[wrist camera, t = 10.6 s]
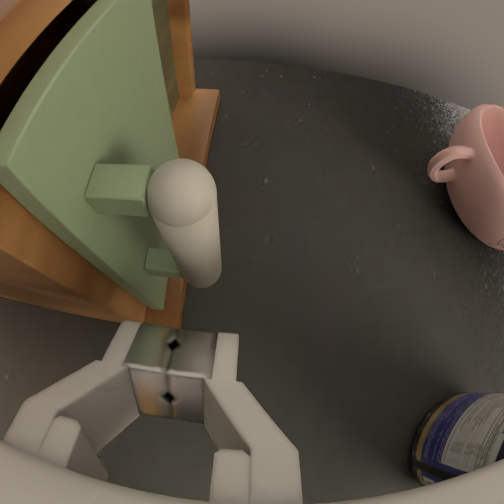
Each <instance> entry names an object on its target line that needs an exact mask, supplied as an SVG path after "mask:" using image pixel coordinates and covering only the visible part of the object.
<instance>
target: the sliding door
mask: <svg viewBox="0 0 504 504" xmlns="http://www.w3.org/2000/svg"><path fill="white" fill-rule="evenodd" d="M0 184H1V185H2V186H3V187H4V188H5V189H6V190H7V191H8V192H9V193H10V194H11V195H12V196H13V197H14V198H15V199H16V200H18V201H19V202H20V203H21V204H22V205H23V206H24V207H25V208H26V209H27V210H28V211H29V212H30V213H32V214H33V215H34V216H35V217H36V218H37V219H38V220H39V221H41V222H42V223H43V224H44V225H45V226H46V227H47V228H49V229H50V230H51V231H52V232H53V233H54V234H55V235H57V236H58V237H59V238H60V239H61V240H63V241H64V242H65V243H66V244H67V245H69V246H70V247H71V248H72V249H73V250H75V251H76V252H77V253H78V254H79V255H81V256H82V257H83V258H84V259H86V260H87V261H88V262H89V263H91V264H92V265H93V266H94V267H96V268H97V269H98V270H100V271H101V272H102V273H103V274H105V275H106V276H107V277H109V278H110V279H111V280H113V281H114V282H115V283H117V284H118V285H119V286H121V287H122V288H123V289H125V290H126V291H127V292H129V293H130V294H131V295H133V296H134V297H136V298H137V299H138V300H140V301H141V302H143V303H144V304H145V305H147V306H148V307H150V308H151V309H155V310H163V309H164V302H165V295H166V288H167V281H168V277H169V278H178V279H183V278H184V279H185V281H186V282H187V283H189V284H190V285H191V286H194V287H197V288H206V287H209V286H211V285H213V284H214V283H215V282H216V281H217V280H218V279H219V277H220V274H221V270H222V263H221V250H220V236H219V222H218V208H217V192H216V186H215V182H214V179H213V177H212V175H211V174H210V173H209V171H208V170H207V169H206V168H205V167H204V166H203V165H201V164H199V163H198V162H196V161H193V160H190V159H184V158H183V159H179V154H178V150H177V145H176V140H175V135H174V130H173V125H172V120H171V115H170V110H169V104H168V99H167V94H166V88H165V83H164V77H163V72H162V66H161V60H160V54H159V48H158V42H157V36H156V29H155V23H154V16H153V9H152V2H151V0H97V1H96V2H95V3H94V4H93V5H92V7H91V8H90V9H89V10H88V11H87V12H86V13H85V14H84V15H83V16H82V17H81V18H80V19H79V20H78V22H77V23H76V24H75V25H74V26H73V27H72V28H71V30H70V31H69V32H68V33H67V34H66V35H65V37H64V38H63V39H62V40H61V41H60V43H59V44H58V45H57V46H56V48H55V49H54V50H53V51H52V53H51V54H50V55H49V57H48V58H47V59H46V61H45V62H44V63H43V65H42V66H41V67H40V69H39V70H38V72H37V73H36V74H35V76H34V77H33V79H32V80H31V82H30V83H29V85H28V86H27V88H26V89H25V91H24V92H23V94H22V95H21V97H20V99H19V100H18V102H17V103H16V105H15V107H14V108H13V110H12V112H11V113H10V115H9V117H8V119H7V120H6V122H5V124H4V126H3V127H2V129H1V131H0Z"/></svg>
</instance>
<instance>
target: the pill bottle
mask: <svg viewBox="0 0 504 504" xmlns="http://www.w3.org/2000/svg"><path fill="white" fill-rule="evenodd" d="M502 459H504V393H460V394H455V395H453V396H450V397H448V398H446V399H444V400H442V401H441V402H439V403H438V404H437V405H436V406H435V407H434V408H433V409H432V410H431V411H430V412H429V413H428V414H427V416H426V417H425V418H424V420H423V421H422V423H421V425H420V427H419V428H418V431H417V433H416V435H415V438H414V442H413V446H412V458H411V461H412V470H413V472H414V475H415V477H416V479H417V480H418V481H419V483H420V484H422V485H423V486H426V485H430V484H434V483H437V482H441V481H444V480H447V479H451V478H454V477H457V476H460V475H463V474H466V473H469V472H471V471H474V470H477V469H480V468H482V467H485V466H487V465H490V464H492V463H495V462H497V461H499V460H502Z"/></svg>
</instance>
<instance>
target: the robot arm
mask: <svg viewBox="0 0 504 504" xmlns="http://www.w3.org/2000/svg"><path fill="white" fill-rule="evenodd" d="M238 344H239V335H238V334H234V333H222V332H219V333H217V332H207V331H198V330H189V329H180V328H174V327H168V326H161V325H155V324H149V323H144V322H143V323H141V322H136V321H130V320H124V321H123V322H121V324H120V326H119V328H118V330H117V331H116V333H115V335H114V337H113V339H112V341H111V343H110V345H109V347H108V349H107V351H106V353H105V355H104V357H103V358H102V360H101V361H99V360H95V361H93V362H92V363H90V364H88V365H86V366H85V367H83V368H81V369H79V370H77V371H76V372H74V373H72V374H70V375H69V376H67V377H65V378H63V379H62V380H60V381H58V382H56V383H54V384H53V385H51V386H49V387H47V388H46V389H44V390H42V391H40V392H38V393H37V394H35V395H33V396H31V397H29V398H28V399H26V400H24V402H23V404H22V406H21V407H20V409H19V411H18V413H17V414H16V416H15V418H14V420H13V422H12V424H11V425H10V427H9V429H8V431H7V433H6V435H5V437H4V439H3V440H1V439H0V504H303V499H302V487H301V475H300V464H299V453H298V450H297V449H296V448H295V446H294V445H293V444H292V443H291V442H290V441H289V439H288V438H287V437H286V436H285V435H284V433H283V432H282V431H281V430H280V429H279V427H278V426H277V425H276V424H275V423H274V421H273V420H272V419H271V418H270V416H269V415H268V414H267V413H266V412H265V410H264V409H263V408H262V407H261V405H260V404H259V403H258V402H257V400H256V399H255V398H254V396H253V395H252V394H251V393H250V391H249V390H248V389H247V387H246V386H245V385H244V384H243V382H237V381H236V376H237V360H238ZM139 414H144V415H150V416H156V417H163V418H170V419H176V420H182V421H188V422H194V423H201V424H204V426H205V428H206V430H207V431H208V433H209V435H210V437H211V439H212V441H213V443H214V444H215V446H216V448H217V450H218V451H217V452H216V453H214V461H213V470H212V478H211V487H210V496H209V501H200V500H192V499H185V498H179V497H172V496H167V495H161V494H156V493H151V492H146V491H142V490H137V489H133V488H129V487H125V486H121V485H117V484H113V483H110V482H107V478H108V472H107V471H106V469H105V468H104V466H103V464H102V463H101V461H100V459H99V458H98V456H97V453H98V452H99V451H100V450H101V449H102V448H104V447H105V446H106V445H107V444H108V443H109V442H110V441H112V440H113V439H114V438H115V437H116V436H117V435H118V434H119V433H121V432H122V431H123V430H124V429H125V428H126V427H127V426H128V425H130V424H131V423H132V422H133V421H134V420H135V419H136V418H137V417H138V416H139ZM317 504H504V459H502V460H499V461H497V462H495V463H492V464H490V465H487V466H485V467H482V468H480V469H477V470H474V471H471V472H469V473H466V474H463V475H460V476H457V477H454V478H451V479H447V480H444V481H441V482H437V483H434V484H430V485H426V486H423V487H419V488H415V489H410V490H406V491H401V492H397V493H392V494H387V495H381V496H376V497H370V498H363V499H356V500H348V501H340V502H330V503H317Z"/></svg>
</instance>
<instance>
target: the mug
mask: <svg viewBox="0 0 504 504" xmlns="http://www.w3.org/2000/svg"><path fill="white" fill-rule="evenodd" d="M444 165H445V170H441V171H439V170H440V168H441V167H442V166H444ZM427 174H428V176H429V177H430V178H431V179H432V181H434V182H439V183H442V182H446V186H447V191H448V194H449V197H450V200H451V203H452V205H453V207H454V209H455V211H456V213H457V214H458V216H459V217H460V219H461V221H462V222H463V224H464V225H465V226H466V227H467V228H468V230H469V231H470V232H471V233H472V234H473V235H474V236H475V237H476V238H477V239H479V240H480V241H482V242H483V243H485V244H486V245H488V246H490V247H492V248H495V249H498V250H501V251H504V108H503V107H501V106H498V105H494V104H483V105H479V106H477V107H476V108H474V109H473V110H472V111H470V112H469V113H468V114H467V115H466V116H465V117H464V118H463V119H462V121H461V122H460V123H459V125H458V126H457V128H456V129H455V131H454V133H453V135H452V137H451V139H450V142H449V147H448V148H446V149H443V150H442V151H440V152H438V153H437V154H436V155H434V156H433V157H432V158H431V160H430V161H429V163H428V168H427Z"/></svg>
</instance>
